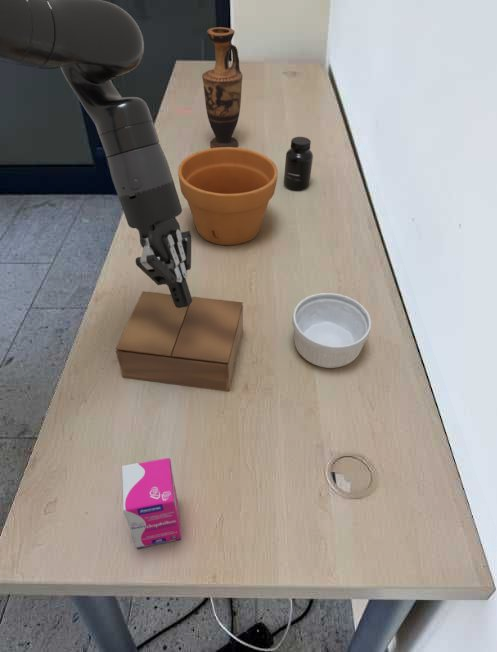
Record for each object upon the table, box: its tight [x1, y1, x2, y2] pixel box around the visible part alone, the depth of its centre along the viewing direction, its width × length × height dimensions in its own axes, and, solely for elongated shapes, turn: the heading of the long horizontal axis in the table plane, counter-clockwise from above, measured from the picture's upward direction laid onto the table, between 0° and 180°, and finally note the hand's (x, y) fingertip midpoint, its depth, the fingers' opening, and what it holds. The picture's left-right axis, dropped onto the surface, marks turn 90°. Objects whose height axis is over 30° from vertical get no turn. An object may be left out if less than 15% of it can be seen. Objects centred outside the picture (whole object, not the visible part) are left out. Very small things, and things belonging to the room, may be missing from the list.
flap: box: [115, 290, 189, 356], centre depth 80 cm, size 14×9×1 cm, turn 171°
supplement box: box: [121, 457, 182, 549], centre depth 59 cm, size 6×6×12 cm
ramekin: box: [291, 292, 372, 369], centre depth 84 cm, size 13×13×7 cm
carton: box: [115, 296, 244, 392], centre depth 82 cm, size 14×18×7 cm
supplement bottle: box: [283, 136, 314, 192], centre depth 123 cm, size 7×7×12 cm
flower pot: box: [177, 147, 279, 246], centre depth 108 cm, size 21×21×15 cm
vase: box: [201, 26, 243, 149], centre depth 134 cm, size 11×11×30 cm
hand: (184, 305), depth 70 cm, fingers closed
